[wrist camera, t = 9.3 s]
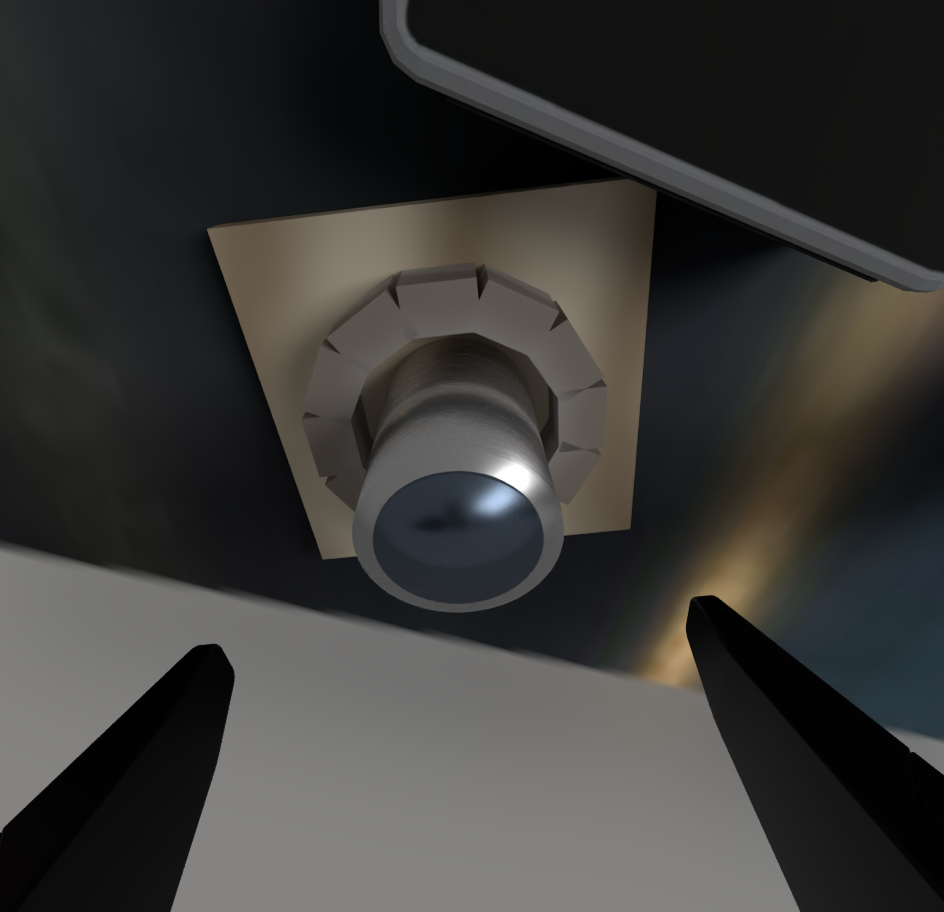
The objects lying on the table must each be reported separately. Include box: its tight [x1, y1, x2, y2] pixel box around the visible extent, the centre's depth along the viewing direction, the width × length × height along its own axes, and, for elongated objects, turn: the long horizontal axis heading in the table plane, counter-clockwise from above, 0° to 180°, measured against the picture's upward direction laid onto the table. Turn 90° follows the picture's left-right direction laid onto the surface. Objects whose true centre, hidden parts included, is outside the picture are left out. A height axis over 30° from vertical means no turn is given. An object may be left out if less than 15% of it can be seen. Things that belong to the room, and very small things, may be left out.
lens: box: [352, 338, 564, 612], centre depth 15 cm, size 5×5×7 cm
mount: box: [207, 176, 657, 559], centre depth 18 cm, size 13×13×3 cm
